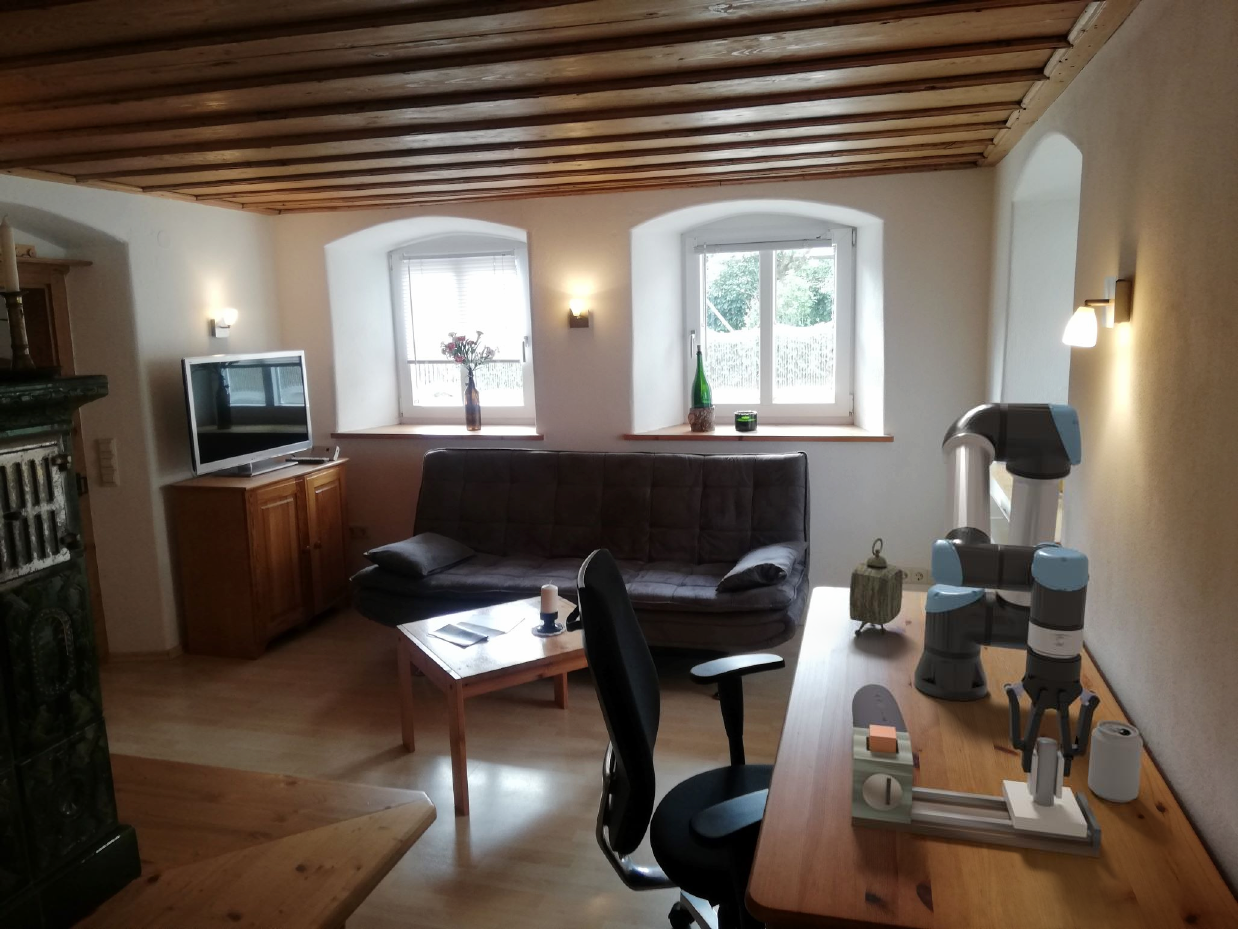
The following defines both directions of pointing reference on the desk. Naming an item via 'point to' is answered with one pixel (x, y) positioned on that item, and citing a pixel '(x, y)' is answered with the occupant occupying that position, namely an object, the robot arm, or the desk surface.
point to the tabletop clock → (875, 591)
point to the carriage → (1044, 799)
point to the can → (1115, 761)
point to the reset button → (882, 739)
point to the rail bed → (945, 805)
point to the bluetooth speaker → (876, 708)
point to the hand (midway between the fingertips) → (1043, 792)
